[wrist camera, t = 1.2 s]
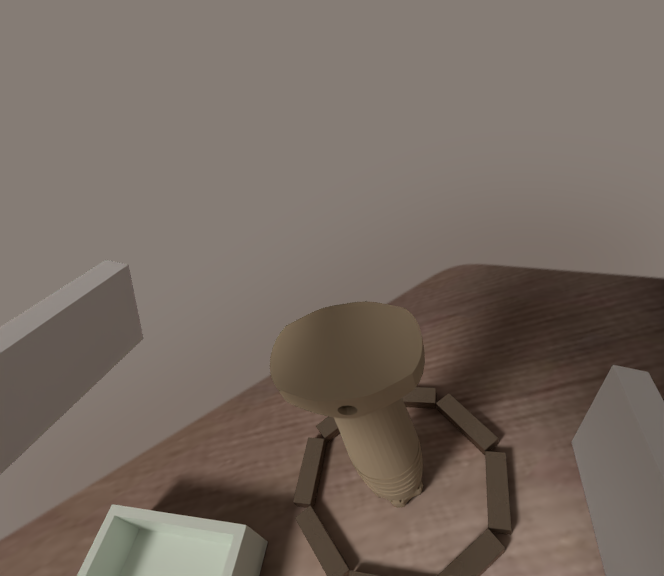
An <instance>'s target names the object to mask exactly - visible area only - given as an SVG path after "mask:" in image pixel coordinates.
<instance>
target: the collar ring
mask: <svg viewBox="0 0 664 576" xmlns="http://www.w3.org/2000/svg"><path fill="white" fill-rule="evenodd" d="M402 399H403V402H404V404H405V406H406V407H415V408H436V406H437V409H438V410H439V411H440V412H441V413H442V414H443V415H444V416H445V417H446V418H447V419H448V420H449V421H450V422H451V423H452V424H453V425H454V426H455V427H456V428H457V429H458V430H459V431H460V432H461V433H462V434H463V435H464V436H465V437H466V438H467V439H469V440H470V441H471V442H472V443H473V444H474V445H475V446H476V447H477V448H478V449H479V450H480V451H481V452H482V453H483V454H484V455H485V457H486V481H487V505H488V529H487V530H486V531H485V532H484V533H483V534H482V535H481V536H480V537H478V538H477V539H476V540H475V541H474V542H473V543H472V544H471V545H470V546H469V547H468V548H467V549H466V550H465V551H464V552H462V553H461V554H460V555H459V556H458V557H457V558H456V559H455V560H454V561H453V562H452V563H451V564H450V565H449V566H448V567H447V568H445V569H444V570H443V571H442V572H441V573H440V574H439V575H438V576H480V575H481V574H482V573H483V572H485V571H486V570H487V569H488V568H489V567H490V566H491V565H492V564H493V563H494V562H495V561H496V560H497V559H498V558H499V557H500V556H501V555H502V554H503V553H504V552H505V547H504V546H503V545H502V544H501V543H500V541H499V540H498V539H497V538H496V537H495V536H494V535H493V534H492V533H491V532H495V533H502V534H510V535H511V518H510V505H509V491H508V477H507V463H506V453H502V452H490V451H491V450H492V449H493V448H494V447H495V446H496V445H497V444H498V438H497V437H496V436H495V435H494V434H493V433H492V432H491V431H490V430H489V429H488V428H486V427H485V426H484V425H483V424H482V423H481V422H480V421H479V420H478V419H477V418H475V417H474V416H473V415H472V414H471V413H470V412H469V411H468V410H467V409H466V408H465V407H463V406H462V405H461V404H460V403H459V402H458V401H457V400H456V399H455V398H454V397H452V396H451V395H450V394H449V393H448V394H447V395H446V396H444V397H443V398H442V399H441V400H439V401H438V402H437V403H436V400H437V392H436V388H425V387H416V388H415V389H414V390H413V391H411V392H410V393H408V394H407V395H405V396H404V397H402ZM316 427H317V429H318V430H319V432H320V433H321V435H322V436H323V437H324V439H325V440H326V441H327V443H328V442H329V441H331V440H332V439H333V438H335V437H336V436H337V435H338V434H340V431H339V428H338V426H337V424H336V422H335V419H334V417H329V416H328V417H327V418H326V419H325V420H323V421H322V422H321V423H319V424H318V425H317V426H316ZM324 439H320V438H308V441H307V445H306V449H305V454H304V458H303V462H302V466H301V471H300V475H299V479H298V483H297V487H296V492H295V496H294V500H293V503H294V504H295V505H296V506H298V507H306V508H307V509H305V510H304V511H303V512H302V513H300V514H299V515H298V516H297V517H296V518H295V519H296V521H297V523H298V524H299V526H300V528H301V530H302V532H303V533H304V535H305V537H306V539H307V540H308V542H309V544H310V546H311V548H312V549H313V551H314V553H315V555H316V557H317V558H318V560H319V562H320V564H321V566H322V567H323V569H324V571H325V573H326V575H327V576H379V575H373V574H368V573H362V572H356V571H351V570H350V569H349V567H348V565H347V564H346V562H345V560H344V559H343V557H342V555H341V554H340V552H339V550H338V549H337V547H336V545H335V544H334V542H333V540H332V539H331V537H330V535H329V534H328V532H327V530H326V529H325V527H324V525H323V524H322V522H321V520H320V519H319V517H318V515H317V514H316V512H315V511H314V505H315V500H316V495H317V490H318V485H319V480H320V475H321V471H322V466H323V461H324V456H325V451H326V446H327V443H326V441H325V440H324Z"/></svg>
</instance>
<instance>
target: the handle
mask: <svg viewBox="0 0 664 576" xmlns="http://www.w3.org/2000/svg"><path fill="white" fill-rule="evenodd" d="M270 358H271V359H270V371H271V377H272V380H273V382H274V384H275V385H276V387H277V389H278V390H279V392H280V393H281V395H282V396H283V398H284V399H285V400H286V401H287V402H288V403H290V404H292V405H295V406H297V407H299V408H302V409H304V410H307V411H310V412H313V413H316V414H320V415H324V416H329V417H334V419H335V422H336V424H337V426H338V428H339V431H340V434H341V436H342V439H343V441H344V444H345V447H346V449H347V452H348V454H349V457H350V459H351V461H352V463H353V465H354V467H355V469H356V470H357V472H358V474H359V475H360V477H361V478H362V479H363V480H364V482H365V483H366V484H367V485H368V486H369V487H370V488H371V489H372V491H373V492H374V493H375V494H376V495H377V496H378V497H382V498H384V499H387V500H389V501H390V502H391V503H392V504H393V506H395V507H399V508H400V507H404V506H405V505H406V503H407V502H408V501H409V500H410V499H411V498H412V497H414V496H416V495H420V494H421V492H422V489H423V483H422V481H421V478H422V472H423V459H422V451H421V446H420V442H419V438H418V435H417V432H416V429H415V427H414V425H413V422H412V420H411V418H410V415H409V413H408V411H407V409H406V406H405V404H404V402H403V399H402V397H404V396H405V395H407V394H408V393H410V392H411V391H413V390H414V389H415V388H416V387H417V385H418V383H419V381H420V379H421V377H422V374H423V370H424V364H425V358H424V346H423V340H422V335H421V331H420V327H419V325H418V323H417V321H416V319H415V318H414V317H413V315H412V314H411V313H410V312H409V311H408V310H406V309H405V308H402V307H397V306H392V305H387V304H382V303H377V302H366V301H365V302H354V303H347V304H341V305H334V306H330V307H325V308H322V309H319V310H317V311H314V312H312V313H310V314H308V315H306V316H304V317H302V318H300V319H298V320H296V321H294V322H293V323H291V324H289V325H287V326H286V327H285V328H284V329H283V330H282V332H281V333H280V334H279V336H278V337H277V339H276V341H275V344H274V346H273V349H272V353H271V357H270Z"/></svg>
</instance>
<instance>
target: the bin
mask: <svg viewBox="0 0 664 576" xmlns="http://www.w3.org/2000/svg"><path fill="white" fill-rule="evenodd" d="M267 544H268V541H266V540H265V539H264V538H263V537H261V536H260V535H259V534H257V533H256V532H255V531H254V530H252V529H251V528H250V527H248V526H247V525H243V524H237V523H230V522H224V521H217V520H211V519H204V518H198V517H191V516H184V515H178V514H171V513H165V512H158V511H152V510H145V509H139V508H132V507H126V506H119V505H113V504H112V506H111V508H110V510H109V512H108V514H107V516H106V518H105V520H104V522H103V524H102V526H101V528H100V530H99V532H98V534H97V536H96V538H95V540H94V542H93V544H92V546H91V548H90V550H89V552H88V554H87V556H86V558H85V561H84V563H83V565H82V567H81V569H80V571H79V573H78V575H77V576H259V575H260V571H261V567H262V563H263V559H264V555H265V551H266V548H267Z"/></svg>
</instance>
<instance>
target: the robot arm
mask: <svg viewBox="0 0 664 576" xmlns="http://www.w3.org/2000/svg"><path fill="white" fill-rule="evenodd" d="M142 339H143V334H142V329H141V324H140V319H139V315H138V310H137V305H136V300H135V295H134V290H133V285H132V280H131V275H130V270H129V265H128V264H123V263H118V262H113V261H108V260H105V261H103V262H102V263H100V264H99V265H97V266H96V267H94V268H92V269H91V270H89V271H88V272H86V273H84V274H83V275H81V276H80V277H78V278H77V279H75V280H73V281H72V282H70V283H69V284H67V285H66V286H64V287H62V288H61V289H59V290H58V291H56V292H54V293H53V294H51V295H50V296H48V297H47V298H45V299H43V300H42V301H40V302H39V303H37V304H36V305H34V306H33V307H31V308H29V309H28V310H26V311H25V312H23V313H21V314H20V315H18V316H17V317H15V318H13V319H12V320H10V321H9V322H7V323H6V324H4V325H2V326H1V327H0V474H1V473H3V472H4V471H5V470H6V469H7V468H8V467H9V466H10V465H11V464H12V463H13V462H14V461H15V460H16V459H17V458H18V457H19V456H21V455H22V453H24V452H25V451H26V450H27V449H28V448H29V447H30V446H31V445H32V444H33V443H34V442H35V441H36V440H37V439H38V438H39V437H40V436H42V435H43V434H44V433H45V432H46V431H47V430H48V429H49V428H50V427H51V426H52V425H53V424H54V423H55V422H56V421H57V420H58V419H59V418H60V417H61V416H63V415H64V413H66V412H67V411H68V410H69V409H70V408H71V407H72V406H73V405H74V404H75V403H76V402H77V401H78V400H79V399H80V398H81V397H83V396H84V395H85V394H86V393H87V392H88V391H89V390H90V389H91V388H92V387H93V386H94V385H95V384H96V383H97V382H98V381H99V380H100V379H101V378H103V377H104V376H105V375H106V374H107V373H108V372H109V371H110V370H111V369H112V368H113V367H114V366H115V365H116V364H117V363H118V362H119V361H120V360H121V359H122V358H123V357H125V356H126V355H127V354H128V353H129V352H130V351H131V350H132V349H133V348H134V347H135V346H136V345H137V344H138V343H139V342H140V341H141V340H142ZM572 446H573V450H574V453H575V457H576V461H577V465H578V469H579V473H580V477H581V481H582V485H583V489H584V493H585V497H586V501H587V504H588V508H589V512H590V516H591V520H592V524H593V528H594V532H595V536H596V540H597V544H598V548H599V551H600V555H601V559H602V563H603V567H604V571H605V575H606V576H664V401H663V399H662V397H661V395H660V393H659V391H658V389H657V387H656V386H655V384H654V382H653V380H652V378H651V376H650V374H649V372H646V371H641V370H636V369H632V368H627V367H622V366H617V365H612V367H611V369H610V371H609V373H608V375H607V376H606V378H605V380H604V382H603V384H602V386H601V388H600V389H599V391H598V393H597V395H596V397H595V399H594V401H593V403H592V404H591V406H590V408H589V410H588V412H587V414H586V416H585V417H584V419H583V421H582V423H581V425H580V427H579V429H578V431H577V432H576V434H575V436H574V438H573V440H572Z"/></svg>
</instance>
